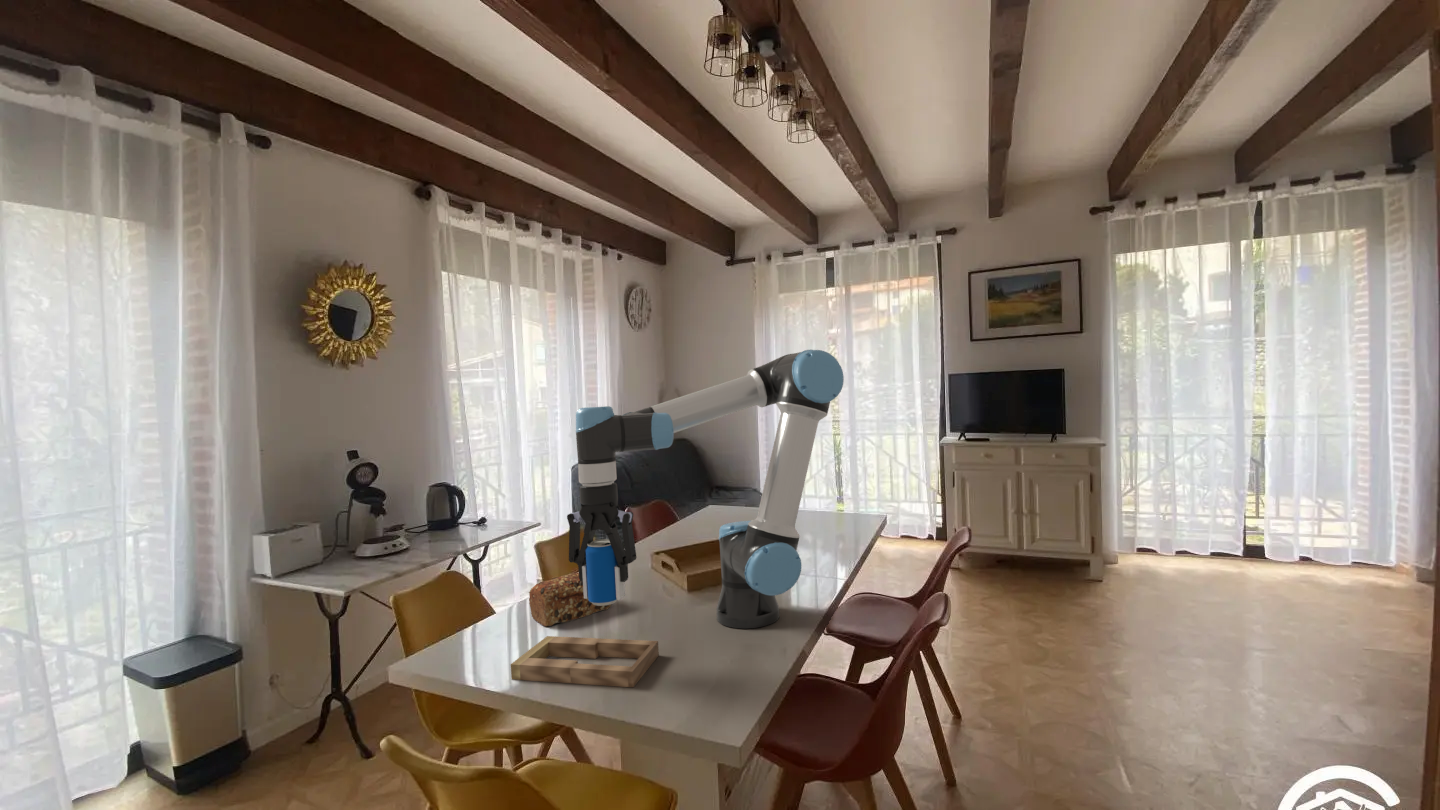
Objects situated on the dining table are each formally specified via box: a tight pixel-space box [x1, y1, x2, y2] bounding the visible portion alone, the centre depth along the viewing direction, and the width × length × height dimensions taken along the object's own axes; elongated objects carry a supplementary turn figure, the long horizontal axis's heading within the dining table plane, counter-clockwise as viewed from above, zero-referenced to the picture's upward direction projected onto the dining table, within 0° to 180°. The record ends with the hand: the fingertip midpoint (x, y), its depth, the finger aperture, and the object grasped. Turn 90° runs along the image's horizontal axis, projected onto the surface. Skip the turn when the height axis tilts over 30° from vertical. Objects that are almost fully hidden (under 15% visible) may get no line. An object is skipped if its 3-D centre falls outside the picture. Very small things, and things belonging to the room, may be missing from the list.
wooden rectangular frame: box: [510, 635, 660, 688], centre depth 124 cm, size 26×14×3 cm, turn 76°
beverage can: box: [586, 538, 618, 606], centre depth 122 cm, size 6×6×12 cm
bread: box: [528, 572, 612, 627], centre depth 156 cm, size 19×11×10 cm, turn 129°
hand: (604, 596), depth 123 cm, fingers closed on beverage can, 6 cm apart
